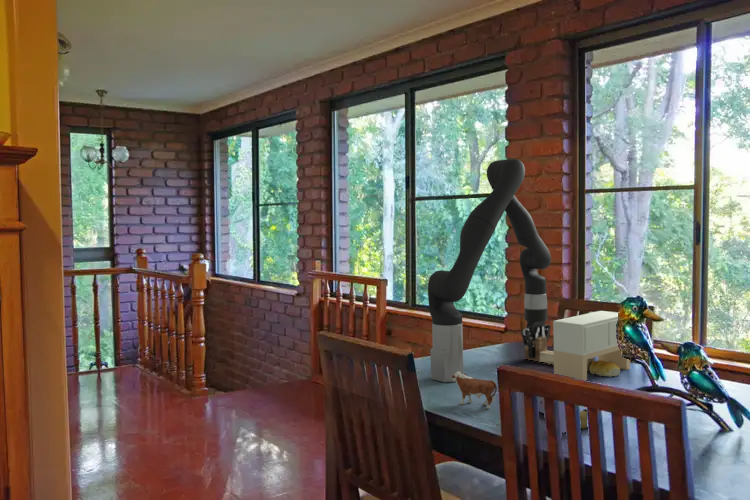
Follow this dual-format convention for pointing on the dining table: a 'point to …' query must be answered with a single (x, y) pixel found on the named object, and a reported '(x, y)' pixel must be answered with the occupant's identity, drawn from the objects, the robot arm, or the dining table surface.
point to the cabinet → (586, 343)
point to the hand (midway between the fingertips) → (536, 356)
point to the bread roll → (604, 368)
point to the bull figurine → (475, 388)
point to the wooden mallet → (546, 353)
